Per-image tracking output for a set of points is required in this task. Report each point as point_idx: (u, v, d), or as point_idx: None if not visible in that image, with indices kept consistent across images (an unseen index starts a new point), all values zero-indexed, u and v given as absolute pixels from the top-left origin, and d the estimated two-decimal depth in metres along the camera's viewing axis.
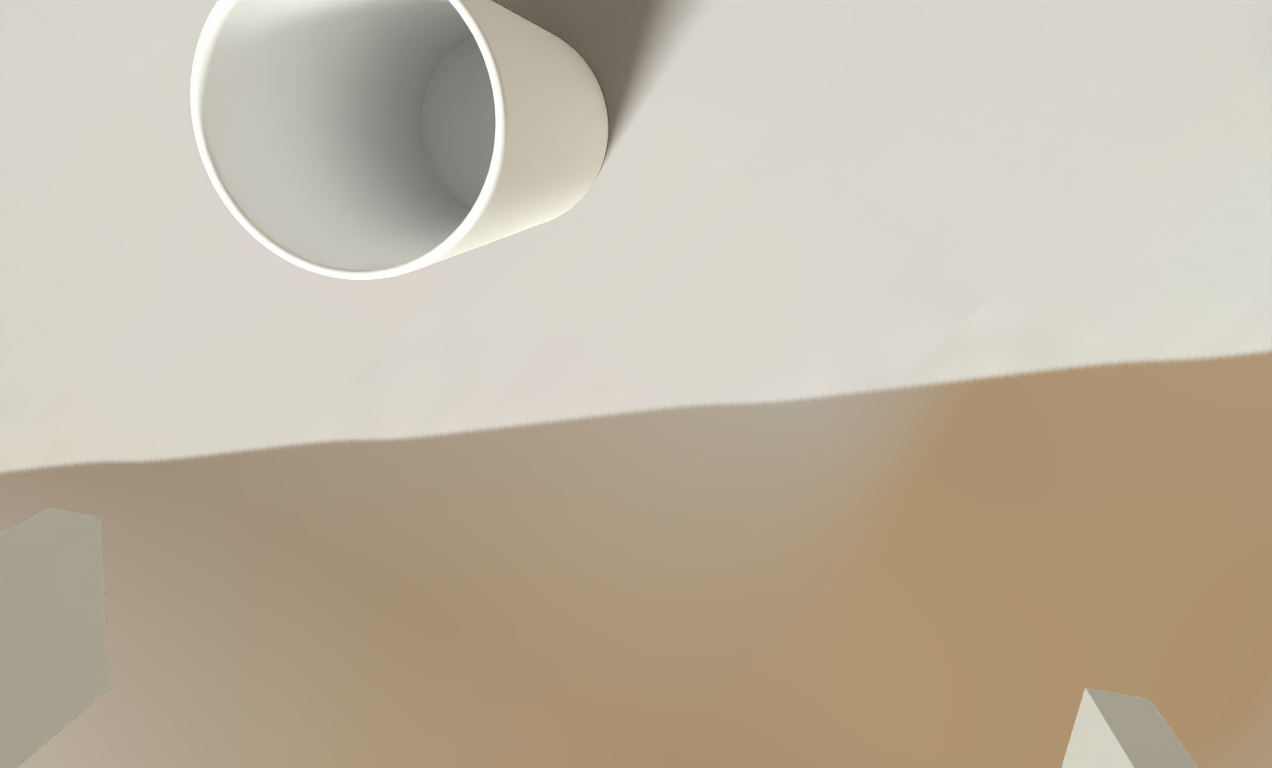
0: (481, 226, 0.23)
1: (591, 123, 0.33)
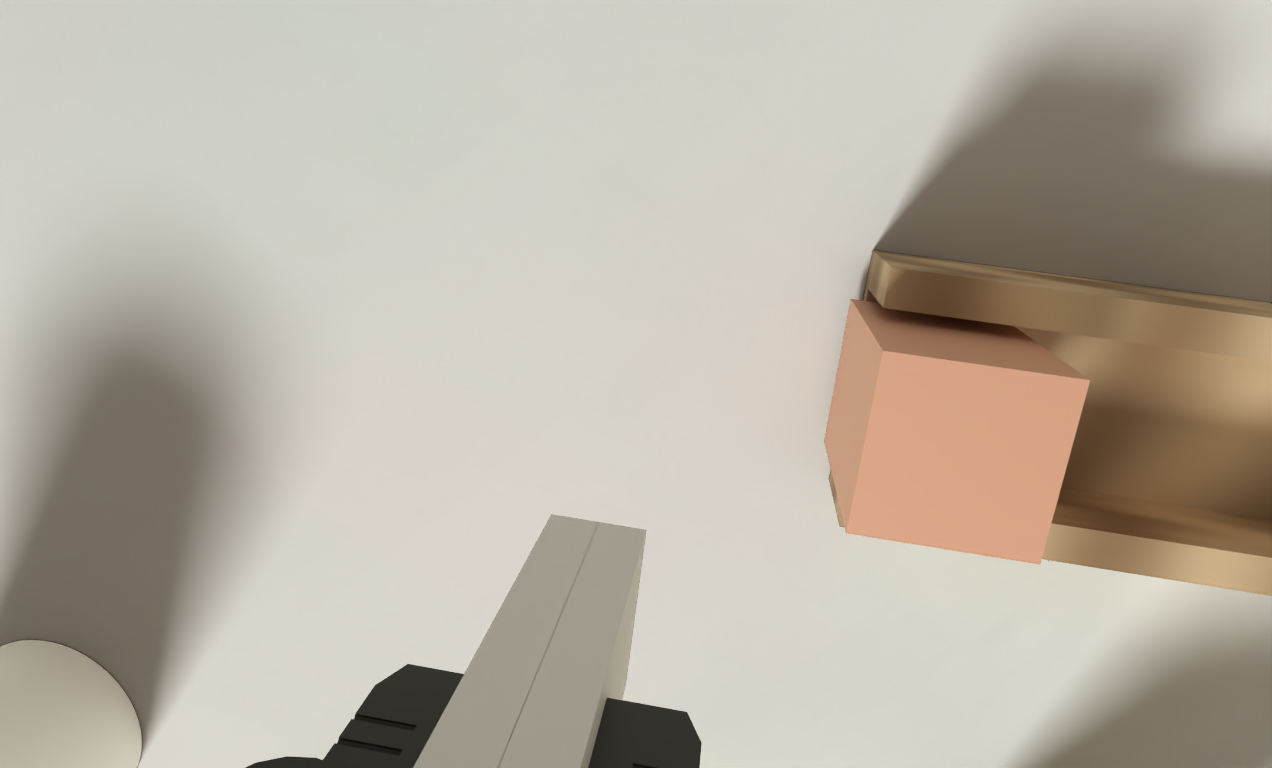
0: None
1: None
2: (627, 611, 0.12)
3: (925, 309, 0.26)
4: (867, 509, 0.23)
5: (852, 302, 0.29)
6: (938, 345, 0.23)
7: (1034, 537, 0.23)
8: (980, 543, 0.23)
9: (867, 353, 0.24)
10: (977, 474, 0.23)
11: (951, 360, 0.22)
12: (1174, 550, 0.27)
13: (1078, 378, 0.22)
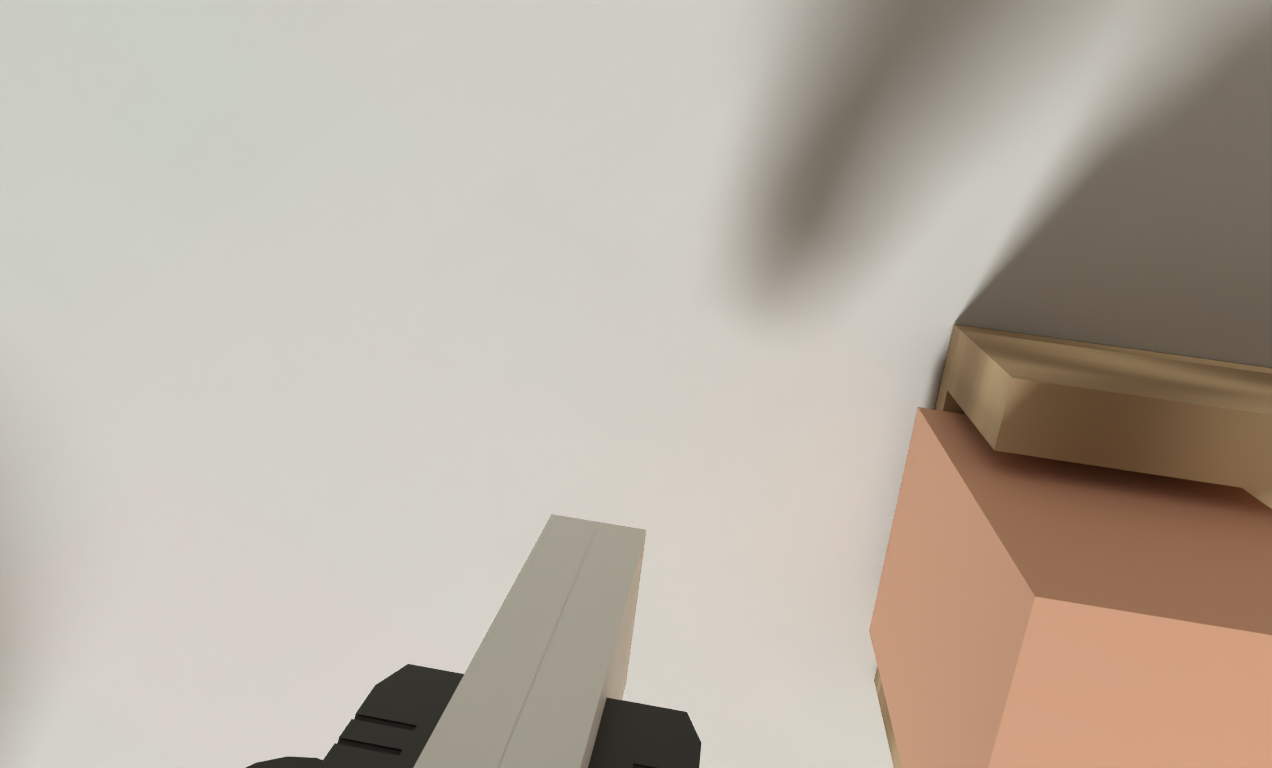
0: None
1: None
2: (627, 611, 0.12)
3: (1073, 454, 0.14)
4: None
5: (922, 416, 0.17)
6: (1128, 554, 0.12)
7: None
8: None
9: (977, 556, 0.12)
10: None
11: (1185, 620, 0.10)
12: None
13: None
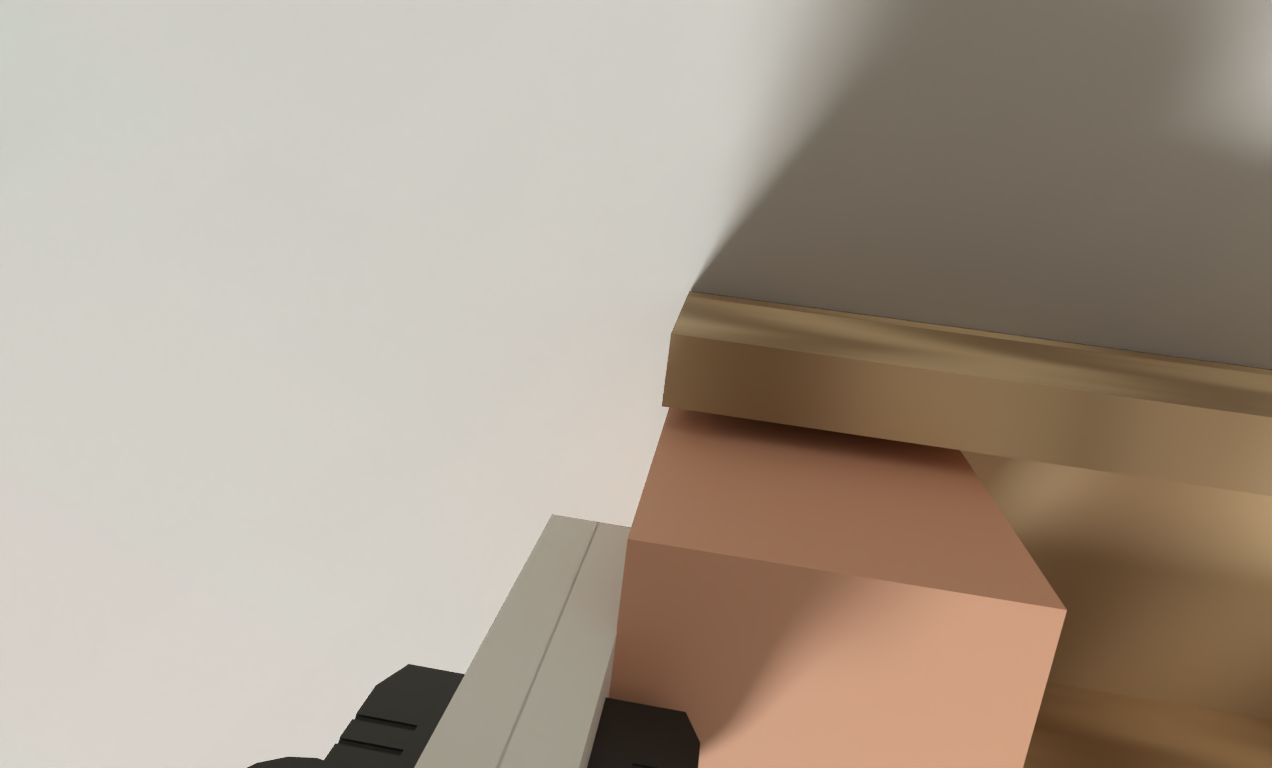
0: None
1: None
2: None
3: (737, 409, 0.14)
4: None
5: None
6: (769, 505, 0.12)
7: None
8: None
9: None
10: None
11: (771, 561, 0.10)
12: None
13: (1041, 605, 0.10)
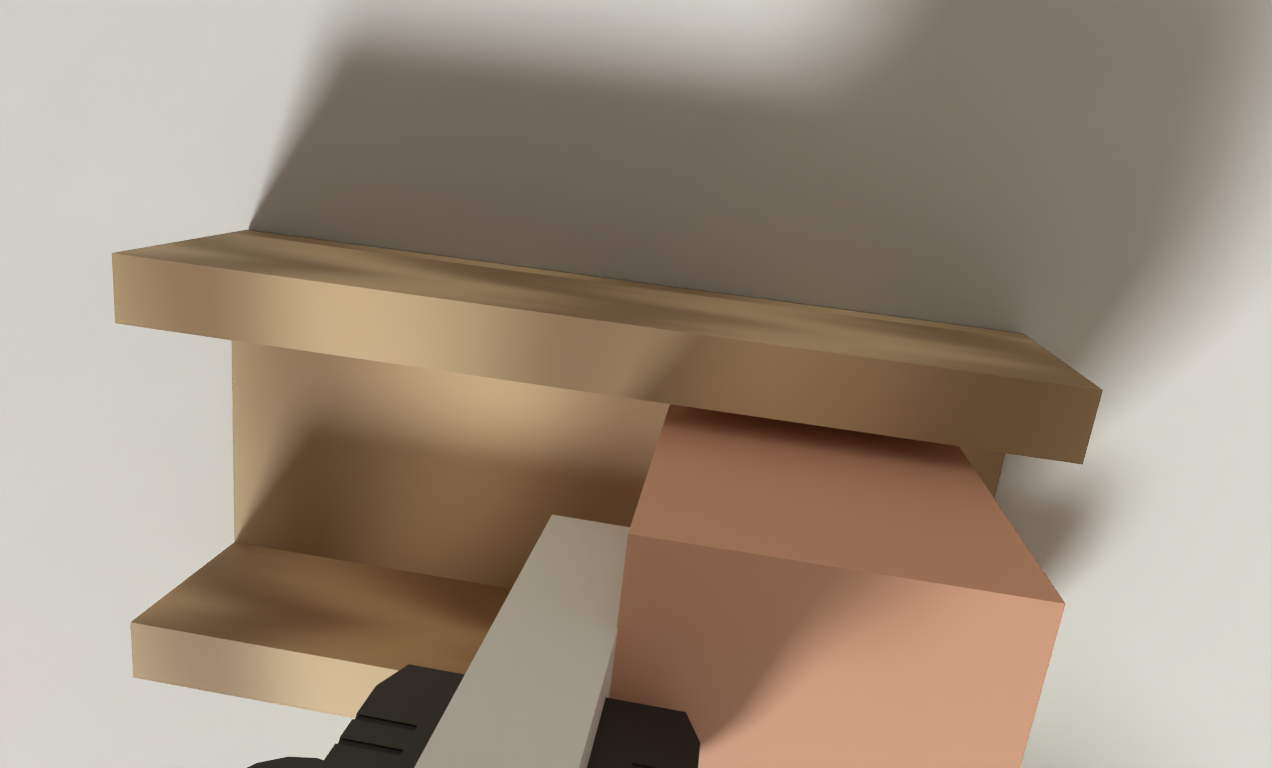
0: None
1: None
2: None
3: (182, 325, 0.15)
4: None
5: None
6: (769, 500, 0.12)
7: None
8: None
9: None
10: None
11: (771, 555, 0.10)
12: None
13: (1040, 598, 0.10)
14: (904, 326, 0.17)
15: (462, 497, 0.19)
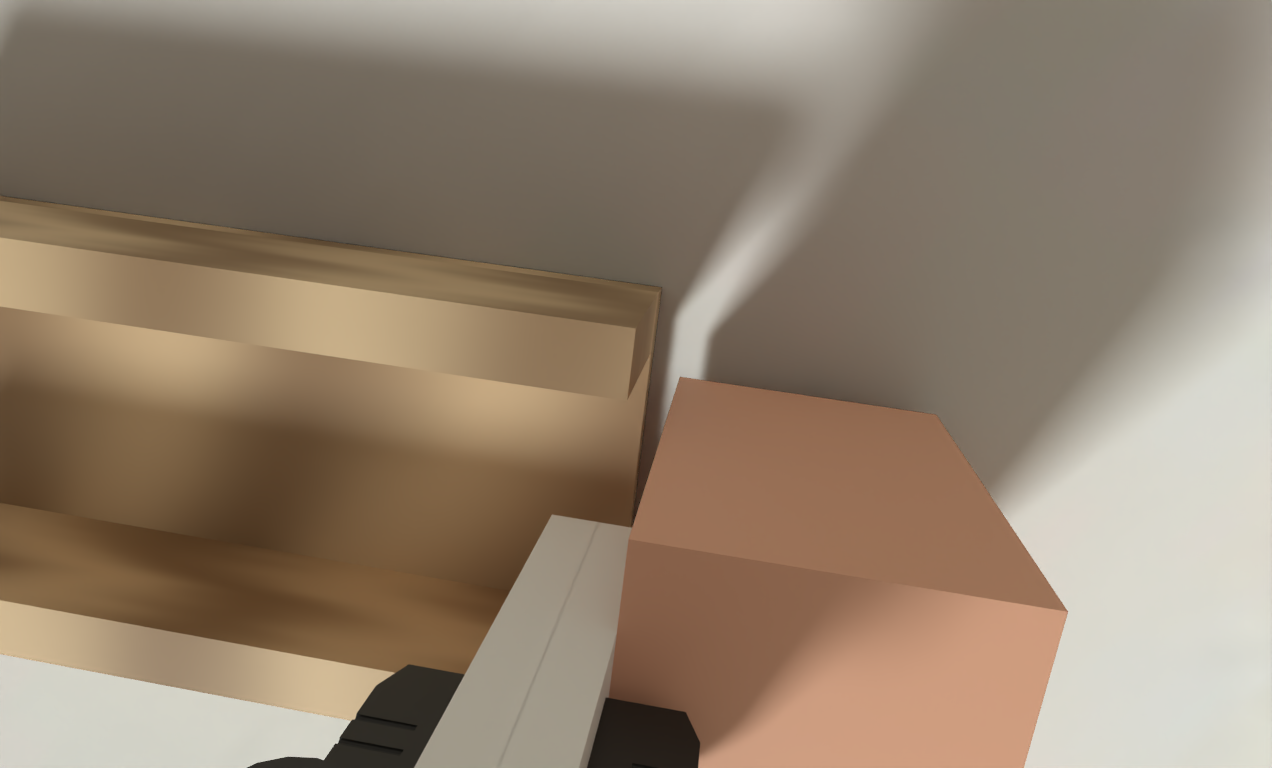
0: None
1: None
2: None
3: None
4: None
5: (677, 385, 0.17)
6: (770, 505, 0.12)
7: None
8: None
9: None
10: None
11: (772, 562, 0.10)
12: (263, 660, 0.16)
13: (1042, 606, 0.10)
14: (533, 278, 0.17)
15: (150, 448, 0.20)
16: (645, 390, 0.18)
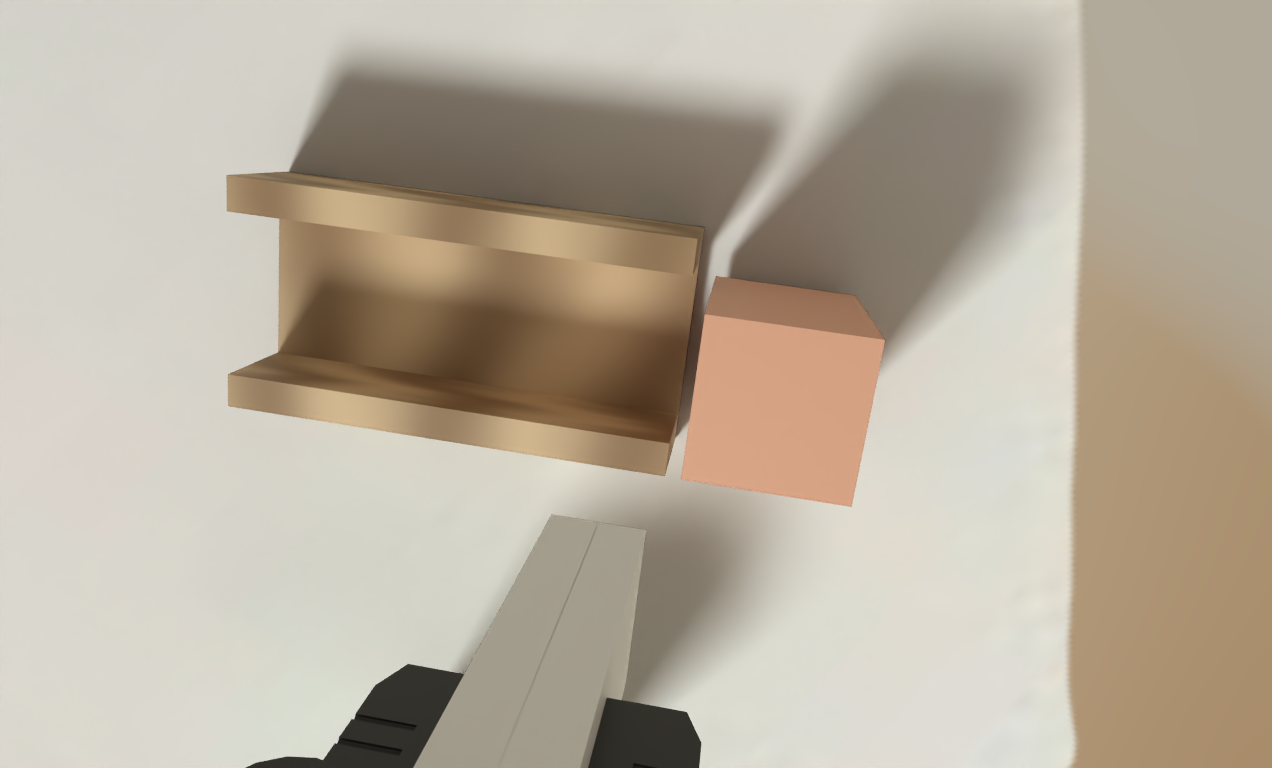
0: None
1: None
2: (627, 611, 0.12)
3: (260, 212, 0.30)
4: (698, 457, 0.26)
5: (715, 278, 0.31)
6: (764, 311, 0.26)
7: (845, 482, 0.26)
8: (798, 488, 0.26)
9: None
10: (792, 425, 0.25)
11: (764, 322, 0.25)
12: (493, 423, 0.31)
13: (875, 338, 0.24)
14: (635, 220, 0.32)
15: (407, 322, 0.34)
16: (695, 284, 0.32)
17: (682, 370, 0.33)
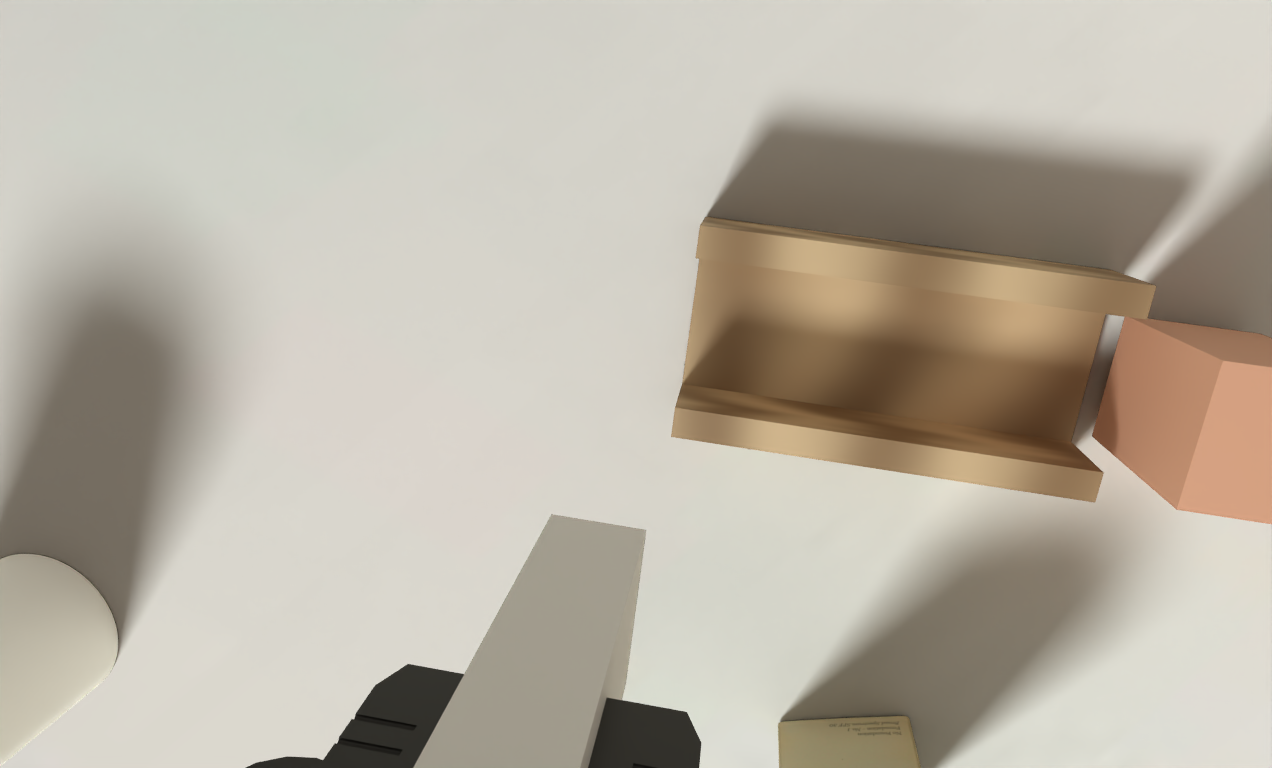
0: None
1: (58, 675, 0.42)
2: (627, 611, 0.12)
3: (728, 259, 0.33)
4: (1196, 490, 0.28)
5: (1130, 318, 0.34)
6: (1251, 356, 0.29)
7: None
8: None
9: (1184, 362, 0.30)
10: None
11: None
12: (932, 453, 0.33)
13: None
14: (1054, 264, 0.34)
15: (813, 357, 0.37)
16: None
17: (1080, 401, 0.36)
